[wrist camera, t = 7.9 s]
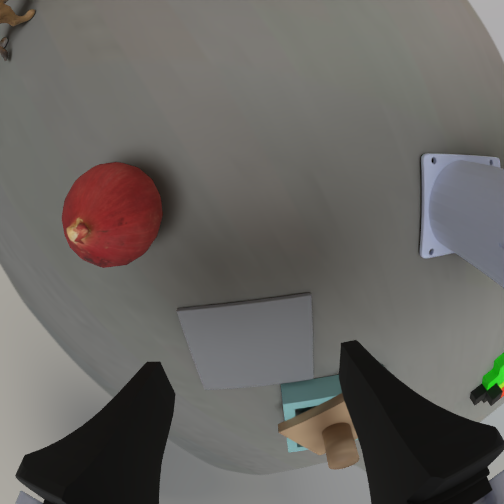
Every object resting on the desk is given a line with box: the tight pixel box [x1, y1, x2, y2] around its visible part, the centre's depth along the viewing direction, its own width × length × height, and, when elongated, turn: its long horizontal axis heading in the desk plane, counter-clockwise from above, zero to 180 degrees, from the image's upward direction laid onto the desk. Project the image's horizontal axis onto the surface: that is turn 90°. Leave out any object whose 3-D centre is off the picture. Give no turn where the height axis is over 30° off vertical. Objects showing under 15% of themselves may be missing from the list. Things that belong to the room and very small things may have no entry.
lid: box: [278, 393, 359, 469], centre depth 21 cm, size 8×8×5 cm
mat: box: [177, 293, 313, 390], centre depth 22 cm, size 10×9×1 cm
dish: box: [281, 364, 383, 452], centre depth 24 cm, size 10×10×2 cm
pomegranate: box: [62, 162, 163, 268], centre depth 14 cm, size 6×6×8 cm
